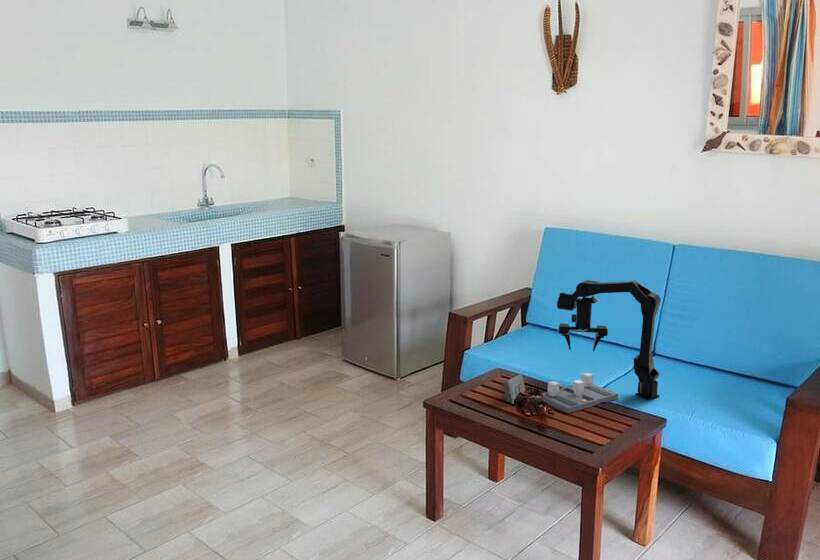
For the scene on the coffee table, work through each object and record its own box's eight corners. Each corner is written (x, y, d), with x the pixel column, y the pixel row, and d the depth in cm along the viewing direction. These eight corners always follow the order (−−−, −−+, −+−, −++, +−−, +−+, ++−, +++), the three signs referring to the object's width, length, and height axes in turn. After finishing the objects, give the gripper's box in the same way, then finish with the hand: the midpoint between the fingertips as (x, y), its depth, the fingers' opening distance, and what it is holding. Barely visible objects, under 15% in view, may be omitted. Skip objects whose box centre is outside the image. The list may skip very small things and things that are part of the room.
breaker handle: (583, 398, 269) (584, 382, 267) (577, 400, 267) (578, 383, 266) (577, 395, 271) (578, 379, 270) (572, 397, 270) (573, 381, 268)
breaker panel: (617, 398, 270) (619, 381, 268) (568, 413, 256) (569, 395, 254) (586, 386, 283) (587, 369, 281) (537, 399, 269) (538, 381, 267)
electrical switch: (514, 406, 263) (513, 381, 261) (502, 403, 266) (501, 379, 265) (527, 398, 270) (526, 374, 268) (515, 396, 273) (514, 373, 272)
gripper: (606, 308, 287) (604, 345, 290) (559, 306, 290) (557, 343, 294) (608, 315, 276) (606, 354, 280) (559, 313, 280) (557, 351, 283)
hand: (581, 350), depth 284 cm, fingers open, 9 cm apart
